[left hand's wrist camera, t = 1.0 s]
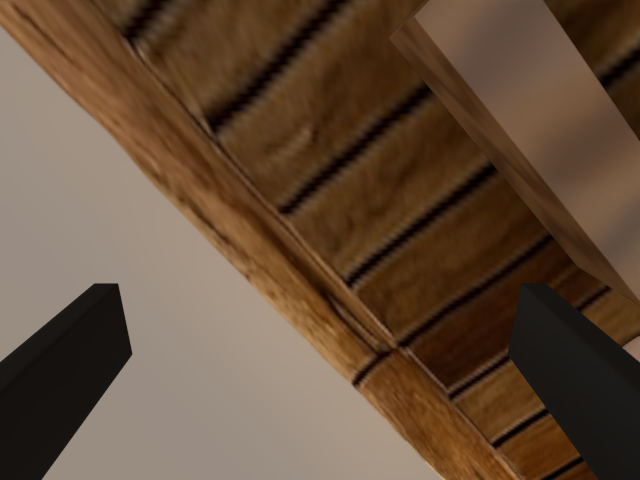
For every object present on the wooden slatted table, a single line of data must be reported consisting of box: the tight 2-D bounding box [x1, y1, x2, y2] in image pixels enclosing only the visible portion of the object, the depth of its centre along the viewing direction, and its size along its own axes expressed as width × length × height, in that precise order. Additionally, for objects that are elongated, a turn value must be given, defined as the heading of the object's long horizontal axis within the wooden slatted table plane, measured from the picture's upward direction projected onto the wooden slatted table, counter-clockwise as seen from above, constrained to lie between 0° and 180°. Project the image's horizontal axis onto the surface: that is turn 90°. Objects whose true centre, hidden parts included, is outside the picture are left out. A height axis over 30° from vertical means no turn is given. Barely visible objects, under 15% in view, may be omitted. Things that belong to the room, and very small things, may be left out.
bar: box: [389, 0, 640, 306], centre depth 27 cm, size 26×6×8 cm, turn 45°
